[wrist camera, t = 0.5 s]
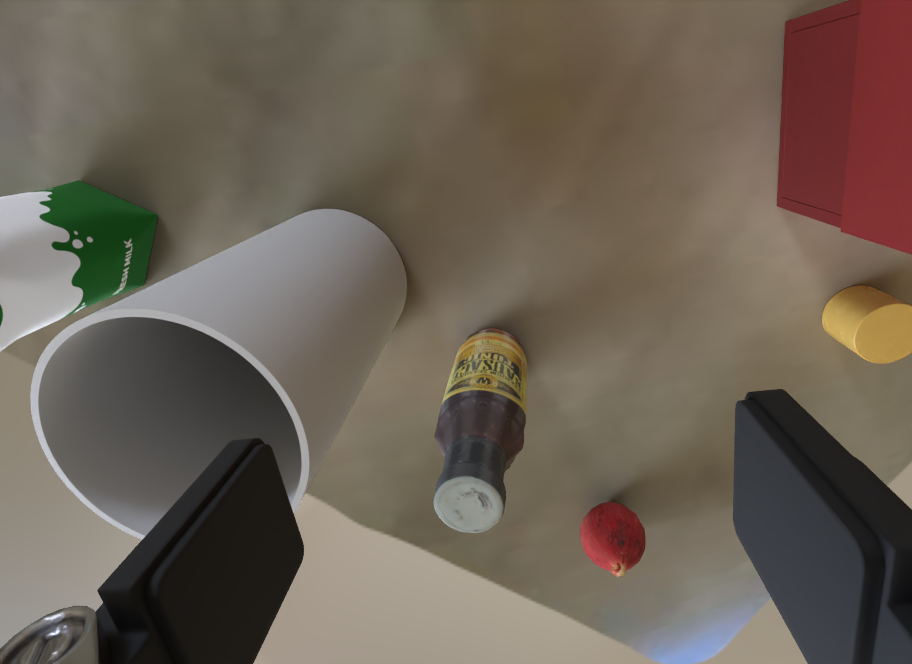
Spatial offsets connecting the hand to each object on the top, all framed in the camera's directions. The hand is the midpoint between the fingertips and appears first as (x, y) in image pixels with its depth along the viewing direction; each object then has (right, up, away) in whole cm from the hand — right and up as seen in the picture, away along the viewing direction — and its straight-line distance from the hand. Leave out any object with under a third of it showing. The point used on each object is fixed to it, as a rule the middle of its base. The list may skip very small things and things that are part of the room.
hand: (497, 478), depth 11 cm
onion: (+14, -15, +43) cm, 47 cm away
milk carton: (-31, +12, +36) cm, 49 cm away
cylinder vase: (-11, +8, +36) cm, 38 cm away
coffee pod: (+32, +4, +33) cm, 46 cm away
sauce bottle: (+2, +1, +37) cm, 37 cm away
